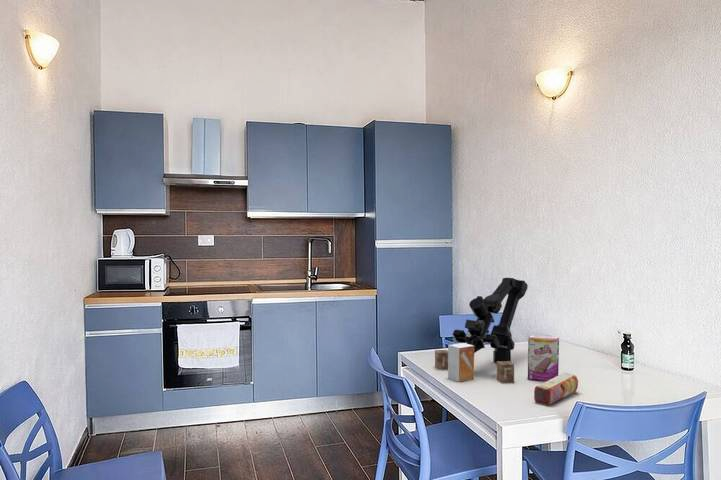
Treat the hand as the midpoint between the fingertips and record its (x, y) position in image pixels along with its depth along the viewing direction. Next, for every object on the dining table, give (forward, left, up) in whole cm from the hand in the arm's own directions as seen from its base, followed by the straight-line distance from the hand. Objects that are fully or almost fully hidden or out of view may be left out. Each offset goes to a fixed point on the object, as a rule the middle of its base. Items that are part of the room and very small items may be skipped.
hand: (468, 356), depth 208 cm
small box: (+4, +4, -8) cm, 10 cm away
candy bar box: (-27, +7, -8) cm, 29 cm away
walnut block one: (+8, -12, -8) cm, 16 cm away
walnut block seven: (-12, +8, -8) cm, 17 cm away
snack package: (-23, +28, -8) cm, 37 cm away
